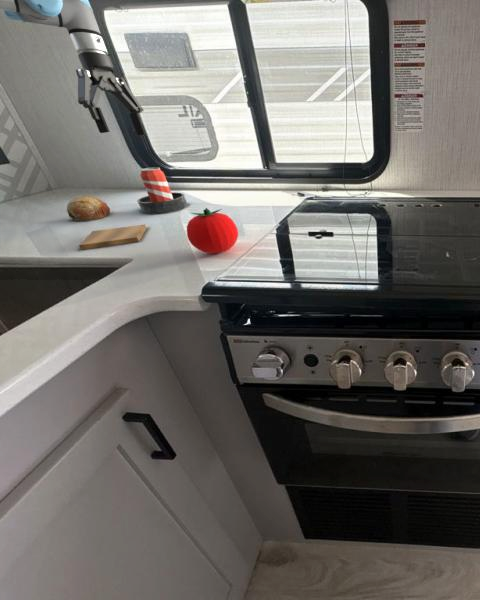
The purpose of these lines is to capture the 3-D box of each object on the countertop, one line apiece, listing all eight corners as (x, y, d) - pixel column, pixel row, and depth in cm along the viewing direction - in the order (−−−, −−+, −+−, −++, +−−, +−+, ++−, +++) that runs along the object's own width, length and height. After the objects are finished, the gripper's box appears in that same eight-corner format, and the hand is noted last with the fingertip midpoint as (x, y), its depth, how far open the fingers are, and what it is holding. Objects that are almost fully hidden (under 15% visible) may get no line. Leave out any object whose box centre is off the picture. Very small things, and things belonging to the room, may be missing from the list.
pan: (138, 216, 103) (133, 205, 101) (146, 205, 114) (141, 195, 112) (185, 210, 108) (182, 199, 106) (189, 200, 118) (185, 190, 116)
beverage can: (179, 205, 112) (166, 167, 105) (161, 210, 107) (145, 171, 101) (168, 203, 114) (154, 166, 108) (149, 208, 109) (133, 170, 103)
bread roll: (75, 229, 104) (50, 209, 98) (99, 207, 109) (76, 187, 103) (98, 232, 102) (73, 212, 95) (121, 209, 107) (99, 189, 100)
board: (81, 249, 81) (78, 245, 80) (94, 235, 89) (92, 231, 89) (139, 241, 85) (137, 237, 84) (146, 228, 93) (145, 224, 93)
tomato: (190, 250, 79) (174, 209, 74) (235, 240, 85) (223, 200, 80) (200, 264, 72) (184, 220, 67) (248, 252, 78) (237, 210, 73)
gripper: (59, 39, 86) (97, 129, 95) (139, 63, 109) (164, 134, 117) (36, 43, 87) (75, 132, 96) (119, 66, 110) (145, 137, 118)
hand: (124, 133), depth 106 cm, fingers open, 13 cm apart
